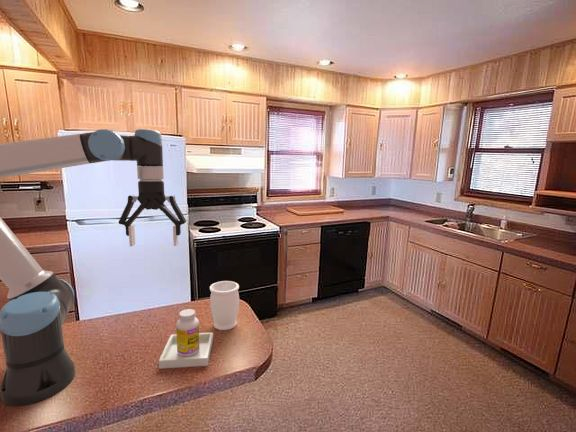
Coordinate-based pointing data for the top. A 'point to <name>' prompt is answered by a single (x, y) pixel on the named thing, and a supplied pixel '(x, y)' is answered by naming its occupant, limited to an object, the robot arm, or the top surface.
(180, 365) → the tray
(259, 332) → the top surface
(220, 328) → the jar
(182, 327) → the supplement bottle
